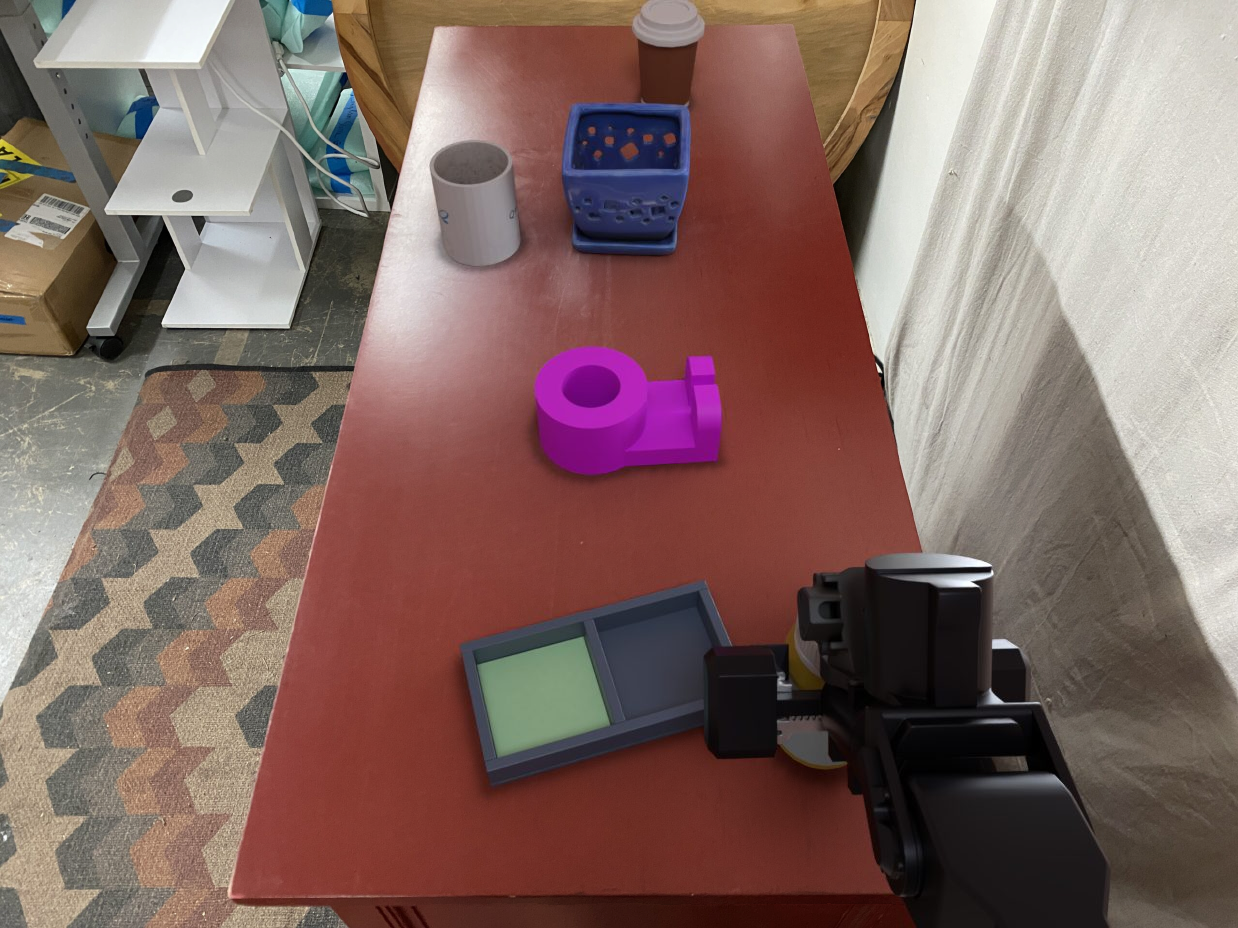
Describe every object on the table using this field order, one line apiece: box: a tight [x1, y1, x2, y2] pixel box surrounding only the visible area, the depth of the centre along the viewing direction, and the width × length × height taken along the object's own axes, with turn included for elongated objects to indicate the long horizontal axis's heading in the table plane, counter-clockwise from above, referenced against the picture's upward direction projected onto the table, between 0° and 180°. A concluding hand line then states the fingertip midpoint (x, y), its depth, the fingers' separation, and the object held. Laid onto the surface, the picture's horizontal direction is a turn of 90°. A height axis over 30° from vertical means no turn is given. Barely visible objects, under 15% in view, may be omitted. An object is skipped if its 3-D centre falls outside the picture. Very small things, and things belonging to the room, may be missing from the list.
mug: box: [428, 139, 522, 267], centre depth 100 cm, size 12×9×10 cm
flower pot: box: [561, 102, 692, 256], centre depth 100 cm, size 13×13×12 cm
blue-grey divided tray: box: [459, 579, 733, 788], centre depth 68 cm, size 10×19×3 cm, turn 107°
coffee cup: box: [631, 0, 706, 108], centre depth 117 cm, size 9×9×12 cm
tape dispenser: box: [534, 346, 723, 476], centre depth 83 cm, size 16×10×6 cm, turn 94°
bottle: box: [778, 614, 848, 770], centre depth 61 cm, size 7×7×15 cm
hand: (828, 655), depth 62 cm, fingers closed on bottle, 7 cm apart
